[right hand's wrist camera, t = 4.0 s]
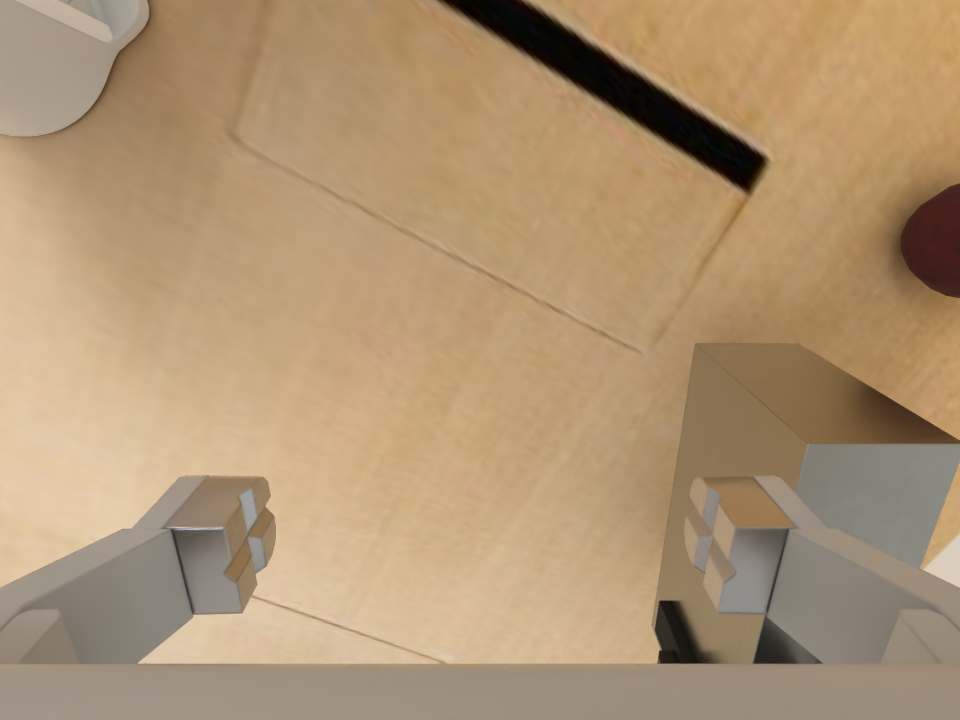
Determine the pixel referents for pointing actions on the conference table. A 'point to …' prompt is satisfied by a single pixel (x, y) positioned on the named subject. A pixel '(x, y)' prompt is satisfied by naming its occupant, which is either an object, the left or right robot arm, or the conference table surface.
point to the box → (797, 474)
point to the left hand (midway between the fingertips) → (713, 615)
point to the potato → (935, 242)
